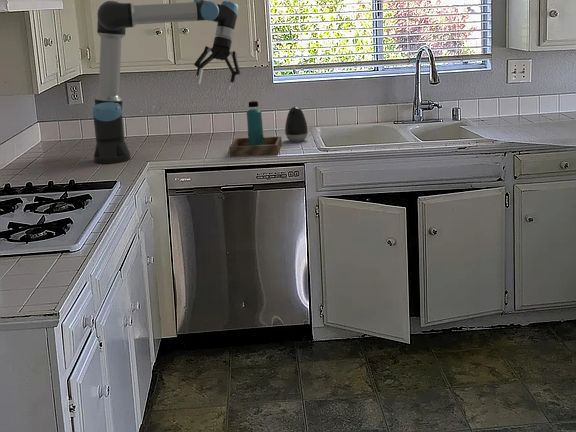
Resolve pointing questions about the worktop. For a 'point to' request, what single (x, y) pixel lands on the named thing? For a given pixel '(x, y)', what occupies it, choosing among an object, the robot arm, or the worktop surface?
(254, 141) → the beverage bottle
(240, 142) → the walnut tray
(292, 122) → the egg on grey base
